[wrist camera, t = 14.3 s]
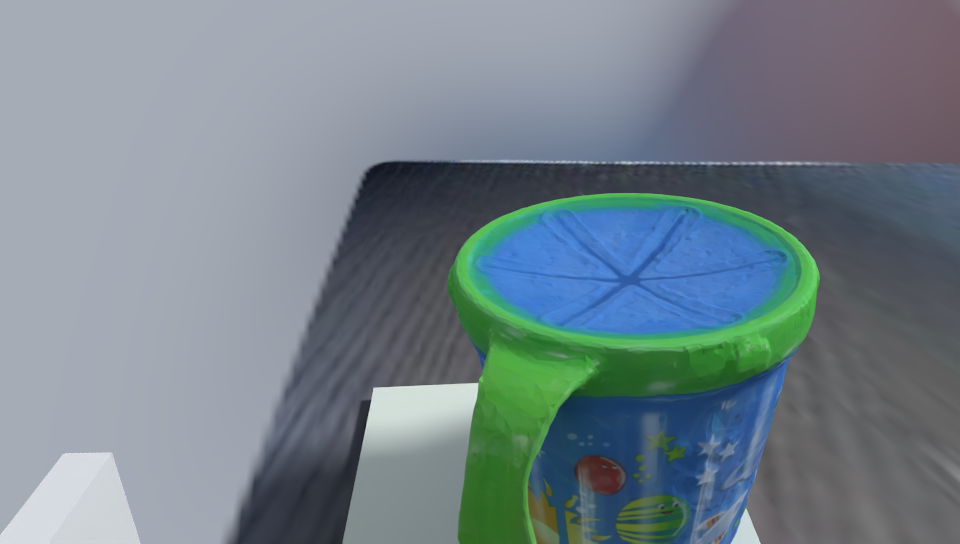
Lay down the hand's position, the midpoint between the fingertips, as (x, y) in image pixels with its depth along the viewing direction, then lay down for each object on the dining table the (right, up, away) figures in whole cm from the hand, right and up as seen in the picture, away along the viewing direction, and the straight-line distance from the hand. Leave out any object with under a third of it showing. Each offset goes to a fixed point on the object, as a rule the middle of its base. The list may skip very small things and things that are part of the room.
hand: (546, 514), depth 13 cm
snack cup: (+4, -5, +17) cm, 18 cm away
